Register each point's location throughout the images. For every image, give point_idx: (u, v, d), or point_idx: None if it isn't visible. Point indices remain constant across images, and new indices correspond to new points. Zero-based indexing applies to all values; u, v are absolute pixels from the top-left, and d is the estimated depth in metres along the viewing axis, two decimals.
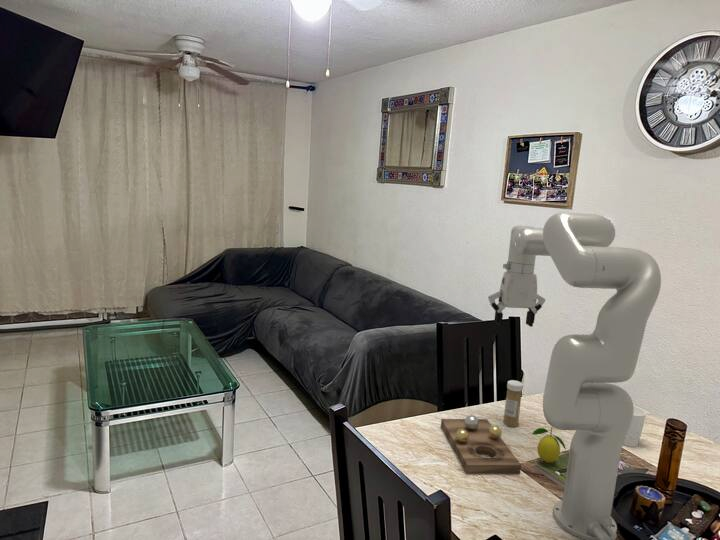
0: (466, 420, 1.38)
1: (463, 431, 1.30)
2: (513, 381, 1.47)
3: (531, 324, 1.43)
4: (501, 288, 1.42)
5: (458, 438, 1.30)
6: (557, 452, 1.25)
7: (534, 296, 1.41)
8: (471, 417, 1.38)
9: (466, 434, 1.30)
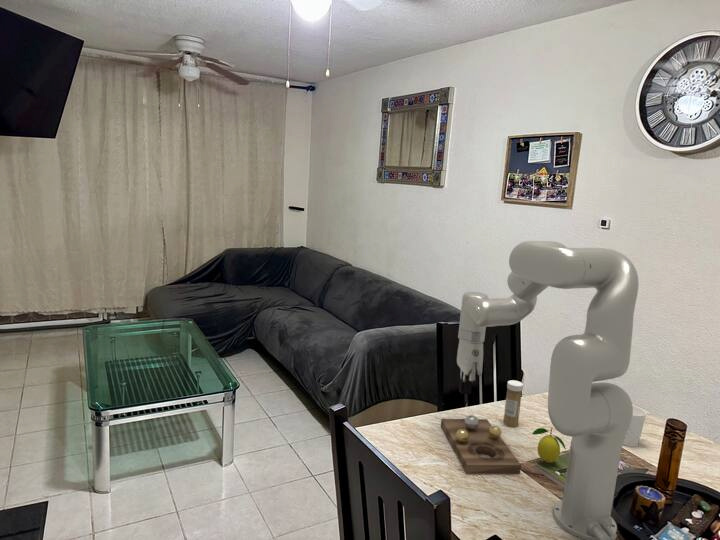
0: (466, 420, 1.38)
1: (463, 431, 1.30)
2: (513, 381, 1.47)
3: None
4: (473, 360, 1.38)
5: (458, 438, 1.30)
6: (557, 452, 1.25)
7: None
8: (471, 417, 1.38)
9: (466, 434, 1.30)
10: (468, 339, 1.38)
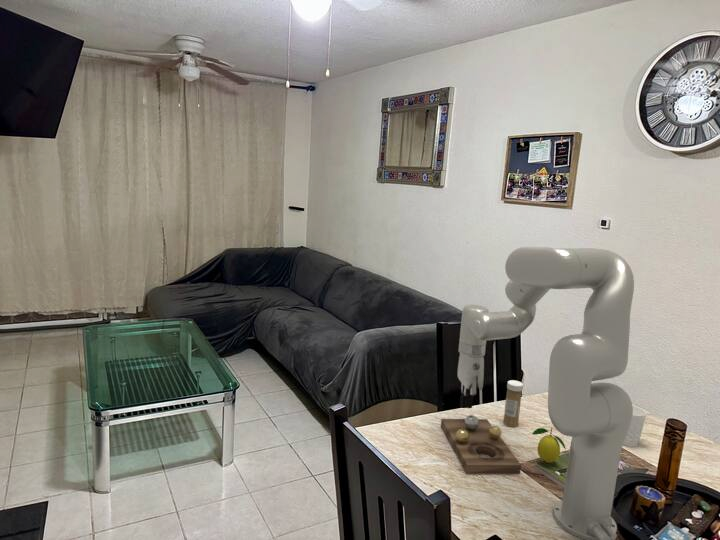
0: (466, 420, 1.38)
1: (463, 431, 1.30)
2: (513, 381, 1.47)
3: None
4: (474, 374, 1.37)
5: (458, 438, 1.30)
6: (557, 452, 1.25)
7: None
8: (471, 417, 1.38)
9: (466, 434, 1.30)
10: (468, 353, 1.37)
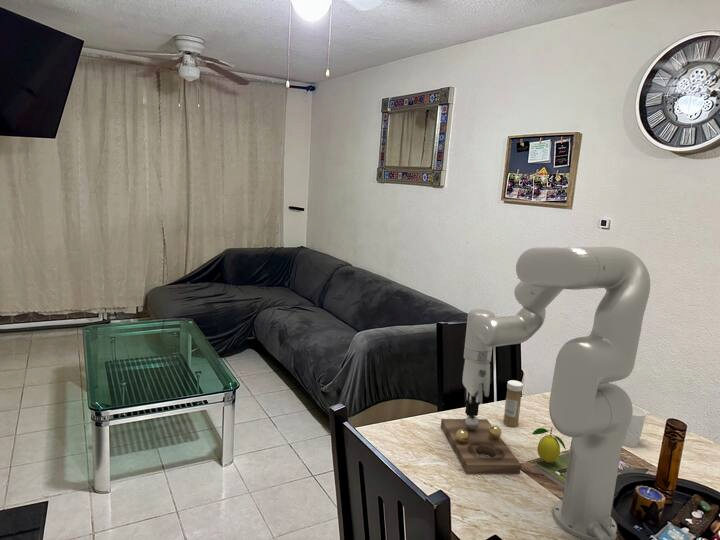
0: (466, 421, 1.37)
1: (463, 431, 1.30)
2: (513, 381, 1.47)
3: None
4: (480, 381, 1.32)
5: (458, 438, 1.30)
6: (557, 452, 1.25)
7: None
8: (471, 418, 1.37)
9: (466, 434, 1.30)
10: (474, 359, 1.33)
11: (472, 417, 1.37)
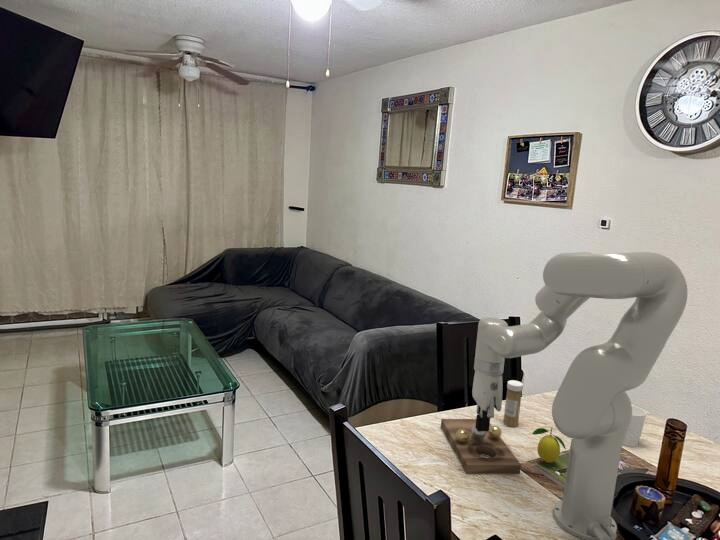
0: (472, 434, 1.33)
1: (463, 431, 1.30)
2: (513, 381, 1.47)
3: None
4: (492, 395, 1.24)
5: (458, 438, 1.30)
6: (557, 452, 1.25)
7: None
8: (476, 438, 1.33)
9: (466, 434, 1.30)
10: (485, 371, 1.24)
11: None
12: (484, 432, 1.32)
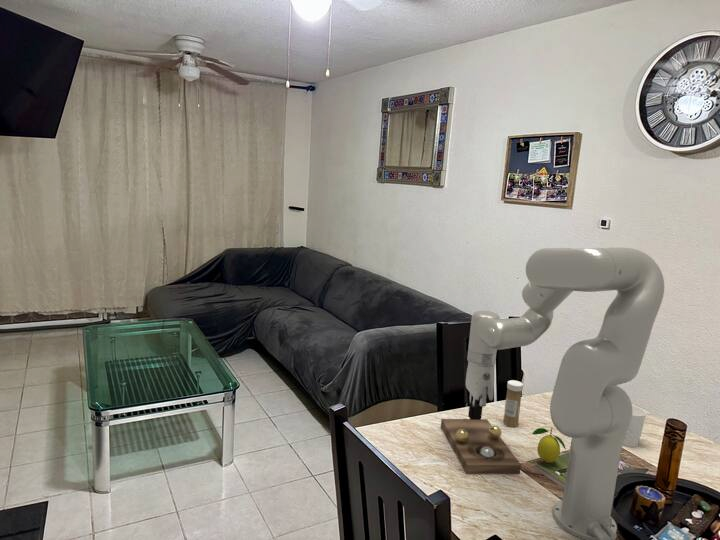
0: (480, 455, 1.26)
1: (463, 431, 1.30)
2: (513, 381, 1.47)
3: None
4: (484, 385, 1.29)
5: (458, 438, 1.30)
6: (557, 452, 1.25)
7: None
8: (485, 453, 1.25)
9: (466, 434, 1.30)
10: (478, 362, 1.29)
11: (486, 451, 1.25)
12: None
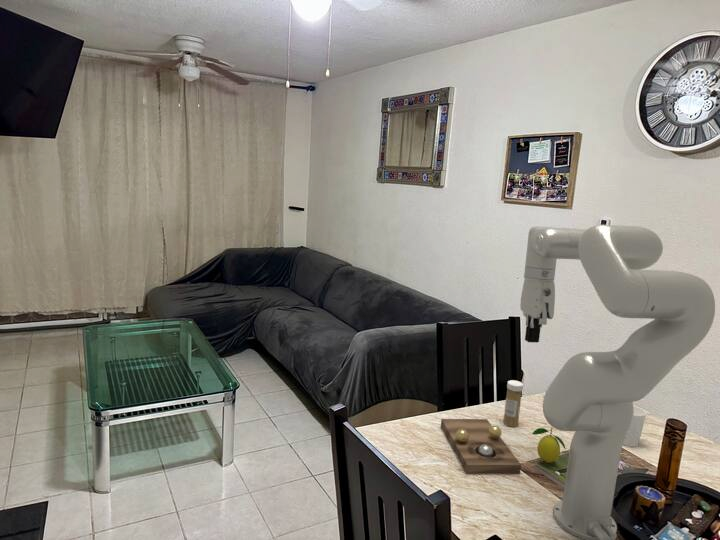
0: (479, 452, 1.27)
1: (463, 431, 1.30)
2: (513, 381, 1.47)
3: None
4: (545, 301, 1.23)
5: (458, 438, 1.30)
6: (557, 452, 1.25)
7: None
8: (483, 447, 1.27)
9: (466, 434, 1.30)
10: (538, 277, 1.24)
11: (483, 446, 1.27)
12: None
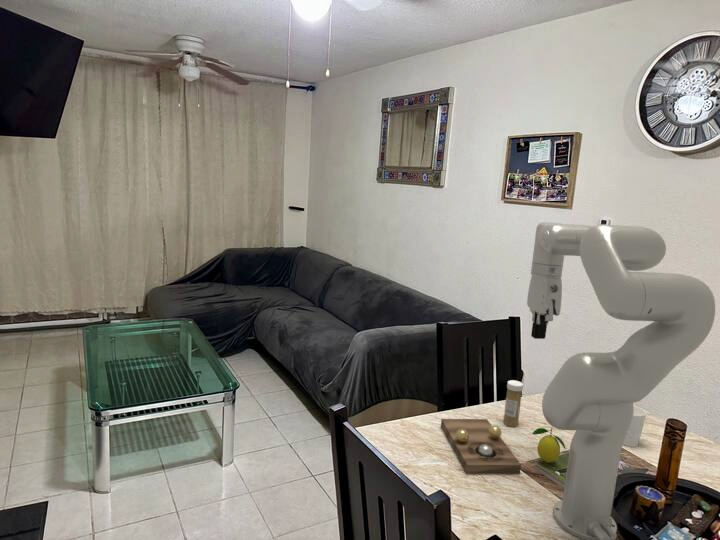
0: (479, 452, 1.27)
1: (463, 431, 1.30)
2: (513, 381, 1.47)
3: None
4: (551, 297, 1.22)
5: (458, 438, 1.30)
6: (557, 452, 1.25)
7: None
8: (483, 447, 1.27)
9: (466, 434, 1.30)
10: (545, 274, 1.23)
11: (483, 446, 1.27)
12: None
